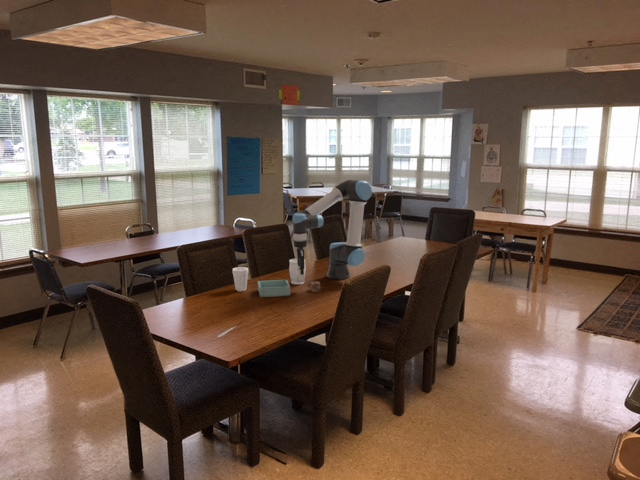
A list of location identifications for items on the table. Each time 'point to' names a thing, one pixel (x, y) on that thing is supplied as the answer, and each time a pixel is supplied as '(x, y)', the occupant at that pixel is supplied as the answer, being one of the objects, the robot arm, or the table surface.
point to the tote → (273, 288)
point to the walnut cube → (315, 286)
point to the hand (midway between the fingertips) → (301, 278)
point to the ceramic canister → (299, 276)
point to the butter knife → (225, 332)
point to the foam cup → (240, 278)
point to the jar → (294, 271)
